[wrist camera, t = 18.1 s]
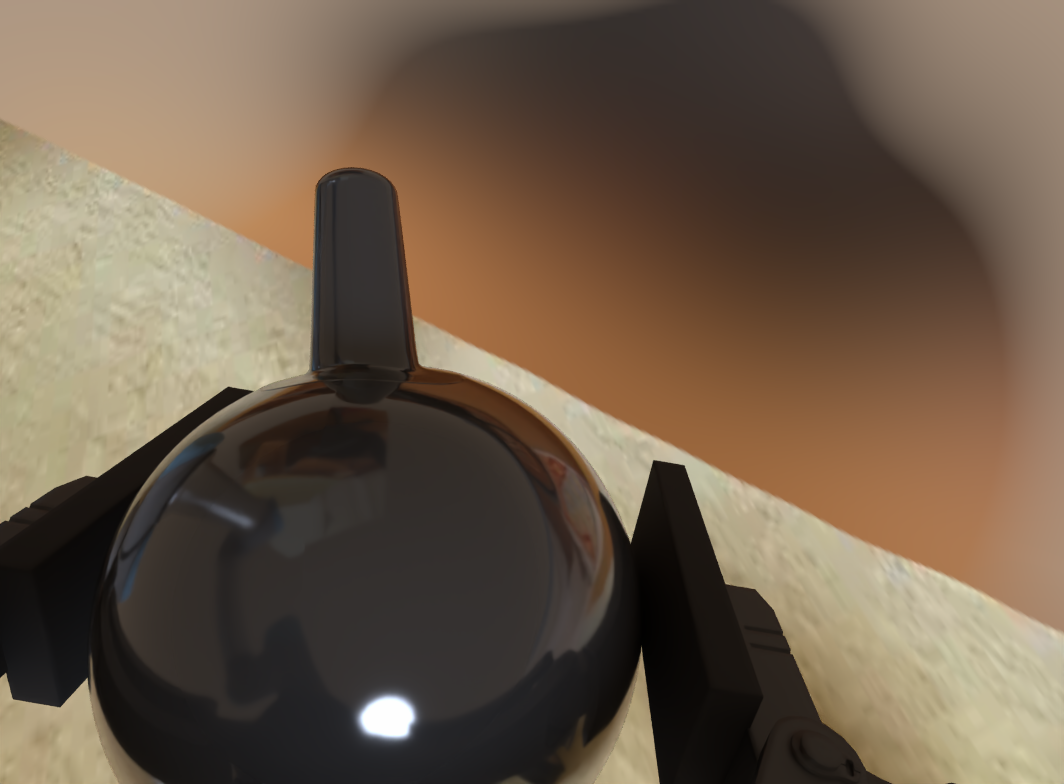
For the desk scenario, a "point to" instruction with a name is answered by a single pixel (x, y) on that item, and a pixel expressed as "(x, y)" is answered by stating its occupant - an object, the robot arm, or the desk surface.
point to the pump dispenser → (366, 567)
